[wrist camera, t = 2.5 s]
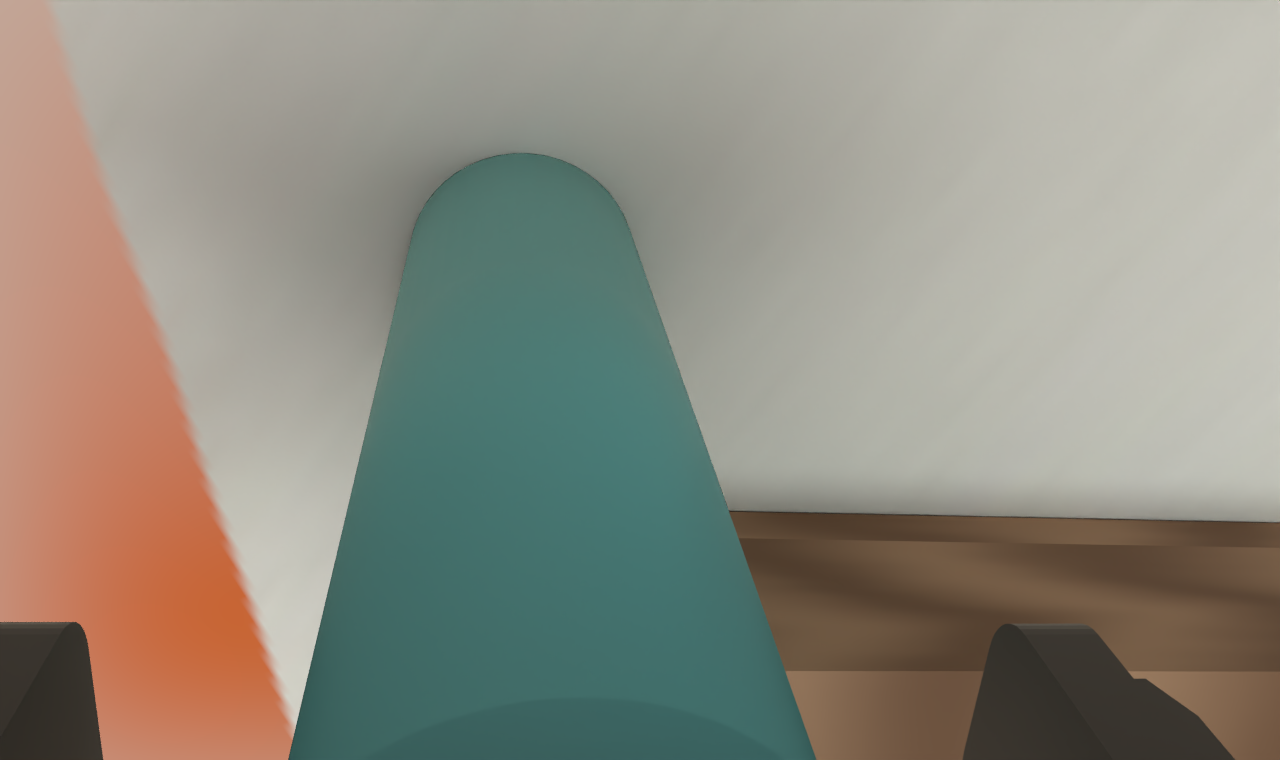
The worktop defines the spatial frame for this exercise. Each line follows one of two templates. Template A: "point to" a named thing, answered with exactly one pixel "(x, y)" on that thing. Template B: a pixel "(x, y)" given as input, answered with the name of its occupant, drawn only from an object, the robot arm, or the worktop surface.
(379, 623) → the pin
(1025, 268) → the worktop surface
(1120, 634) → the bore block
